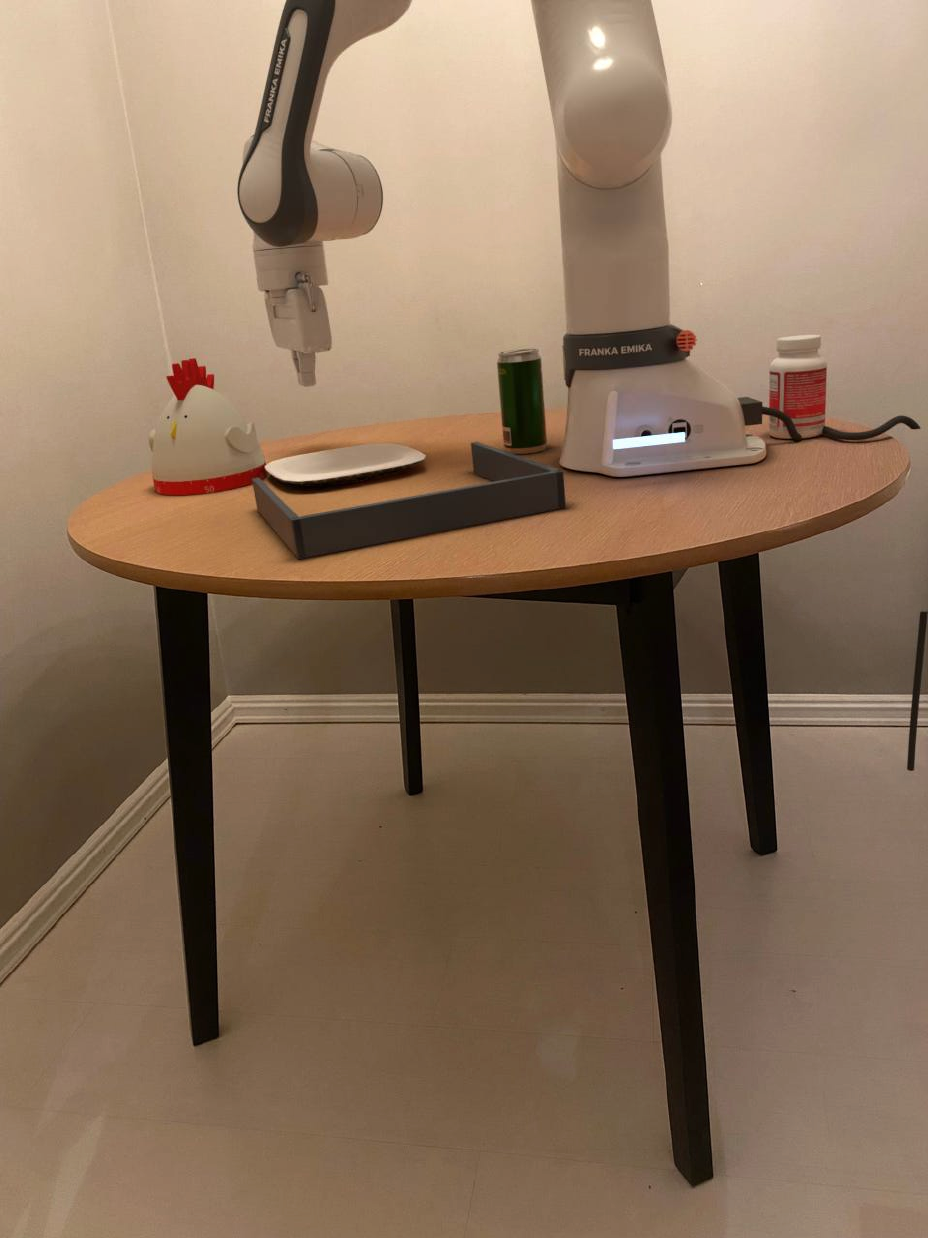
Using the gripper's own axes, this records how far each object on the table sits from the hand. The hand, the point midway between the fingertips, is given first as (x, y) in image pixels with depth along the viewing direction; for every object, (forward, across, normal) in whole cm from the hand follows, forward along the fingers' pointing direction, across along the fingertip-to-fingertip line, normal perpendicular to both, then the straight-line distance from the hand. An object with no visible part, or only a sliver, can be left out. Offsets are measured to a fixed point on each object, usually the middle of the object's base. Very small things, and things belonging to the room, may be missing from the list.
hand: (307, 385), depth 123 cm
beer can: (+9, -18, -22) cm, 31 cm away
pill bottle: (+9, -36, -49) cm, 62 cm away
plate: (+10, -14, 0) cm, 17 cm away
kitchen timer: (+10, -5, +15) cm, 18 cm away
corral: (+9, -37, 0) cm, 38 cm away
